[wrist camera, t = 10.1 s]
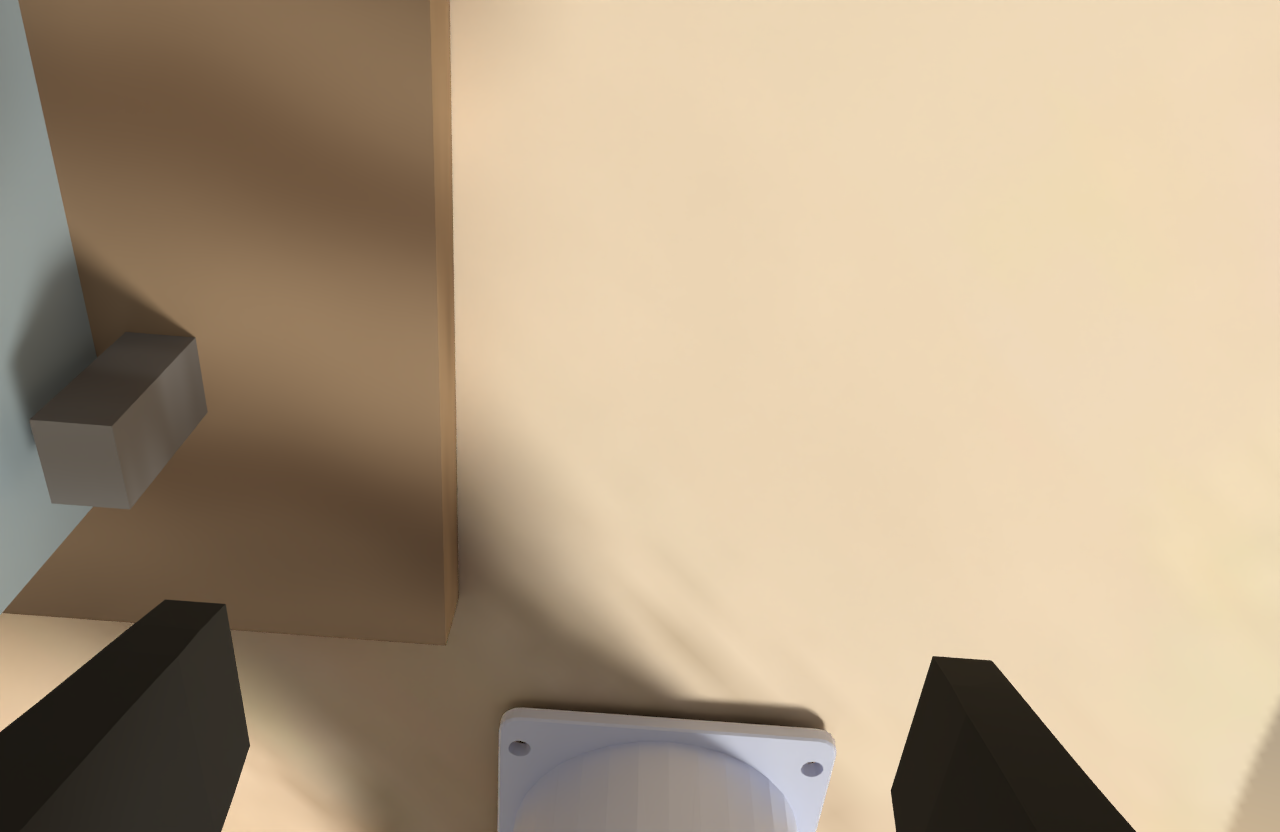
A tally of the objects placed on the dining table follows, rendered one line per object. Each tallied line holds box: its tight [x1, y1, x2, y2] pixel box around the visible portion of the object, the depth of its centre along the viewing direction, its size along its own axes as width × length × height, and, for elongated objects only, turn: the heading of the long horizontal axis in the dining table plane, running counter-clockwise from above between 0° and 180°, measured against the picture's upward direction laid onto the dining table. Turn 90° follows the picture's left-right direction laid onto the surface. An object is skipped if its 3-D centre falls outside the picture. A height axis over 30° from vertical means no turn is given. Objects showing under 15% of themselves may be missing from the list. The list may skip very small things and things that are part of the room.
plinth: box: [2, 0, 459, 645], centre depth 15 cm, size 20×12×4 cm, turn 175°
